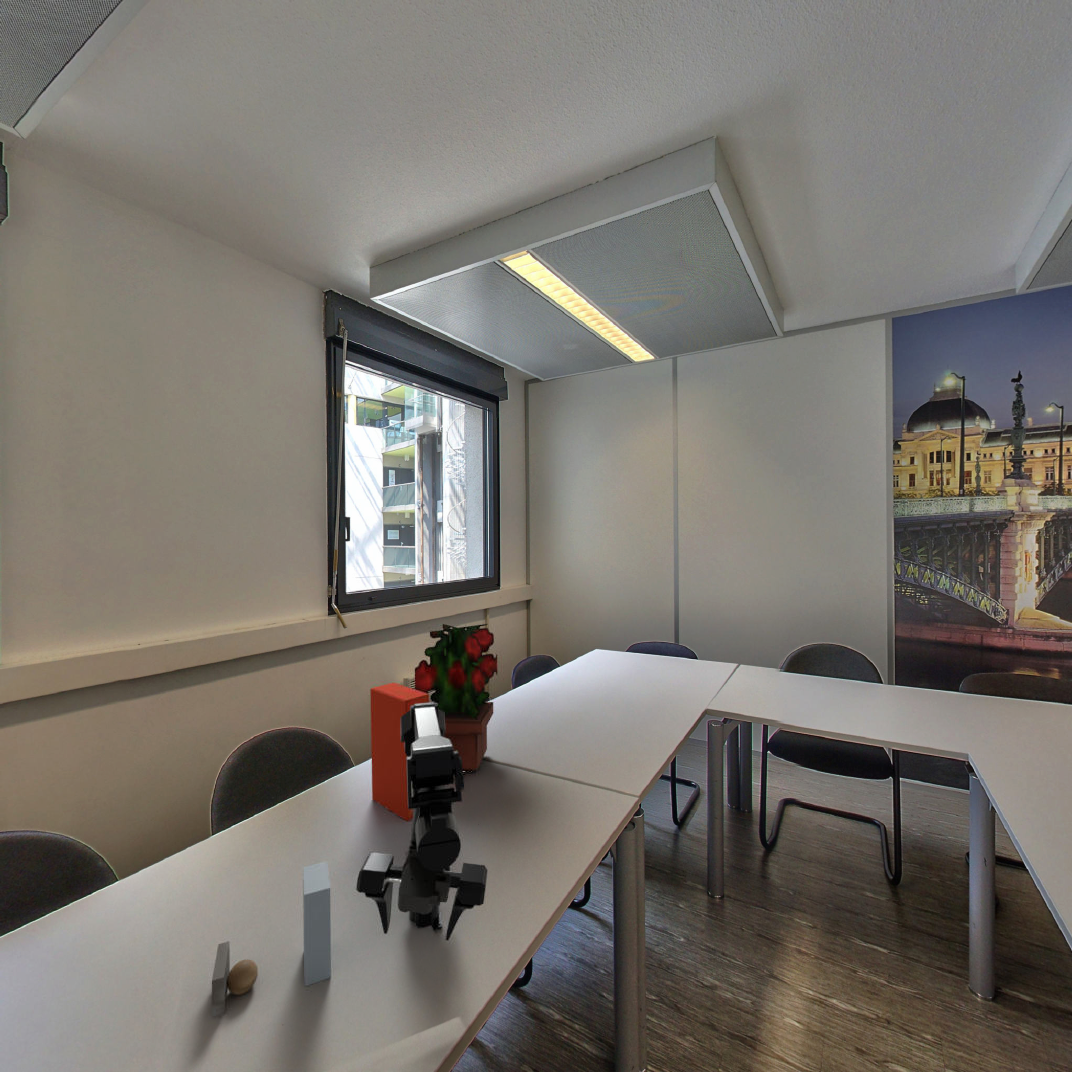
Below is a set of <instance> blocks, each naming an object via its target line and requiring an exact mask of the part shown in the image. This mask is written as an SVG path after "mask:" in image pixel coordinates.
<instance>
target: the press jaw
mask: <svg viewBox="0 0 1072 1072" xmlns="http://www.w3.org/2000/svg"><path fill="white" fill-rule="evenodd" d="M302 885H303V886H302V889H303V890H302V895H303V896H302V898H303V902H302V903H303V907H302V908H303V913H302V915H303V919H302V920H303V968H304V970H303V972H304V987H307V986H310V985H313V984H317V983H319V982H322V981H325V980H328V979H331V977H332V969H331V968H332V952H331V951H332V947H331V946H332V945H331V943H332V941H331V940H332V939H331V938H332V937H331V936H332V935H331V933H332V932H331V930H332V928H331V917H332V916H331V882H330V874H329V866H328V860H327V861H321V862H318V863H314V864H309V865H307V866H303V867H302Z"/></svg>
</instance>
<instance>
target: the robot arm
mask: <svg viewBox="0 0 1072 1072" xmlns="http://www.w3.org/2000/svg"><path fill="white" fill-rule="evenodd" d="M400 729H401V742H404V748H405V754H406V756H407V794H408V809H413V819H412V821H411V830H410V837H409V845H408V847H407V849H406V851H405V857H404V859H405V860H404V863H403V865H401V866H400V865H394V860H395V857H394V854H389V853H379V852H371V853H370V854H369V855H367V856H366V858H365V860H364V862H363V865H362V866H361V868H360V870H359V873H358V876H357V879H356V880H357V881H356V888H355V890H356V891H357V892H358V893H362V894H364V896H365V897H366V898H368V899H372V901H374V902H375V904H376V906H377V909H378V913H379V917H380V922H381V925H382V930H383V934H384V935H387V934H388V932H389V928H390V923H391V915H392V903H393V902H392V901H393V891H394V890H393V888H394V883H398V884H399V883H400V884H399V887H398V898H397V908H398V910H399V911H400V912H402V913H408V918H409V920H410V921H411V922H412V923H414V924H415V927H417V929H422V928H427V927H431V929H432V931H435V930H440V929H442V928H443V921H442V920H443V919H442V913H441V910H442V909H441V903H447V902H448V898H449V893H450V889H456V892H455V897H454V901H453V904H452V907H451V911H450V916H449V919H448V923H447V928H446V933H445V941H447V942H448V941H449V940H450V939H451V936H452V934H453V931H454V930H455V927H456V925H457V923H458V922H459V919H460V918H461V916H462V915H463V913H464V911H466V910H472V909H474V908H475V906H479V907H481V906H482V905H484V903H485V897H486V896H485V894H486V889H487V888H486V886H487V878H488V869H487V866H486V865H485V864H476V863H467V862H463V863H462V869H461V872H458V871H451V868H450V867H451V866H452V865H453V864H455V862H456V861H457V859H458V858H459V855H460V853H461V848H462V844H461V838H460V835H459V831H458V827H457V822H456V817H455V815H454V812H453V806H454V803H461V802H463V795H462V791H465V786H466V785H465V778H464V777H465V776H464V772H463V767H462V759H461V758H460V757H459V753H458V752H457V751H454V749H453V745H452V743H451V740H450V739H447V738H444V735H445V717H444V712H443V711H441V710H440V709H438V704H437V703H436V702H434V701H431V702H430V701H429V703H419V704H414V705H412V706H411V707H410V711H408V712H407V713H405V714H404V715H403V716H401V725H400ZM411 781H412V788H413V797H412V789H411ZM453 784H454V785H455V786H454V787H455V788H454V787H449V788H448V787H447V786H449V785H453Z"/></svg>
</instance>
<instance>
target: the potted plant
mask: <svg viewBox="0 0 1072 1072" xmlns="http://www.w3.org/2000/svg"><path fill="white" fill-rule="evenodd" d="M487 625H488V623H485V624H484V623H482V624H477V625H469V626H462V627H457V626H453V625H448V624H446V623H445V624H444V623H442V629H439V630H438V629H437V630H431V631H429V637H430V638H431V639H438V640H437V641H436V642H435V645H434V646H429V647H426V649H424V653H423V654H424V655H425V657H429V663H428V661H427V660H426V659H421V661H419V663H418V666H416V667H414V689H415V690H418V691H421V692H424V693H427V694H429V692H431V691H434V692H433V693H431V694H430V696H429V700H431V702H434V703H437V704H438V709H440V710H441V711H443V712H444V717H445V735H444V738H447V739H450V740H451V743H452V745H453V749H454V751H457V752H458V753H459V757H460V758H461V759H462V767H463V771H465V772H464V773H469V772H471V771H472V772H473V773H474V771H475V770H478V769H479V767H480V766H481V763H482V760H483V758H484V756H485V754H486V753H487V750H488V724H489V722H490V720H491V718H492V717H493V715H494V701H488V699H489V698H490V695H491V694H490V693H489V691H486V685H487V684H488V683H489V682H490V679H491V678H493V677H494V674H495V675H498V654H496V655H495V656H494V654H493V653H487V652H488V651H489V650H490V647H491V646H493V645H494V641H495V636H494V633H493V632H490V629H489V628H488V627H485V626H487ZM481 627H482V628H481ZM445 632H446V633H445ZM483 653H486V654H483ZM473 770H474V771H473Z"/></svg>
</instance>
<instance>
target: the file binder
mask: <svg viewBox="0 0 1072 1072" xmlns="http://www.w3.org/2000/svg"><path fill="white" fill-rule="evenodd" d="M369 695H370V735H371V736H370V739H371V740H370V743H371V744H370V745H371V749H370V750H371V796H372V797H371V798H372V800H373V801H374V802H376V803H378V804H379V805H381V806H382V807H384V808H385V809H387V810H388V811H390V812H392V813H393V814H395V815H397V816H398V817H400V818H401V819H403V820H404V821H406V822H409V821H411V820H413V809H408V794H407V756H406V754H405V748H404V742H401V729H400V725H401V716H403V715H404V714H405V713H407V712H408V711H410V707H411V706H412V705H414V704H419V703H430V695H429V693H428V694H427V693H424V692H421V691H418V690H415V688H411V687H408V686H406V685H402V684H401V683H396V682H390V683H387V684H383V685H379V686H375V687H372V688H370V694H369ZM411 789H412V797H413V788H412V781H411Z"/></svg>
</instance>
